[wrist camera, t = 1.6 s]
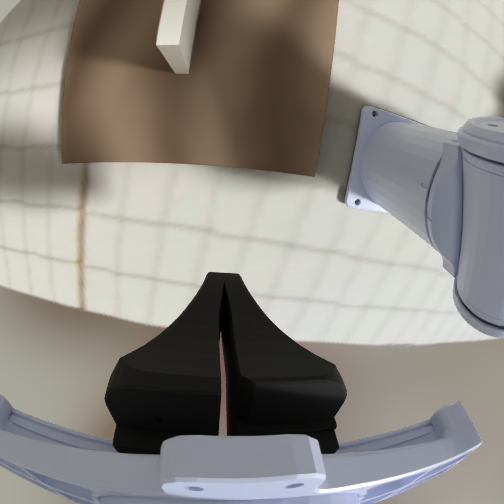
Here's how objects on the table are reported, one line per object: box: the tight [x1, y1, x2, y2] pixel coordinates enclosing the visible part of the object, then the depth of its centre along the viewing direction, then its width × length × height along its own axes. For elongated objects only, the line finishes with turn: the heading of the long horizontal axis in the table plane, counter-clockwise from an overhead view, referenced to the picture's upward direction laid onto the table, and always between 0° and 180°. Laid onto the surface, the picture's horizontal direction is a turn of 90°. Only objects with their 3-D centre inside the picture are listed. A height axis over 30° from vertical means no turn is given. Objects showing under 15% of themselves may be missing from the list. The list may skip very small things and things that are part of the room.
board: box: [62, 0, 339, 177], centre depth 14 cm, size 18×16×2 cm
